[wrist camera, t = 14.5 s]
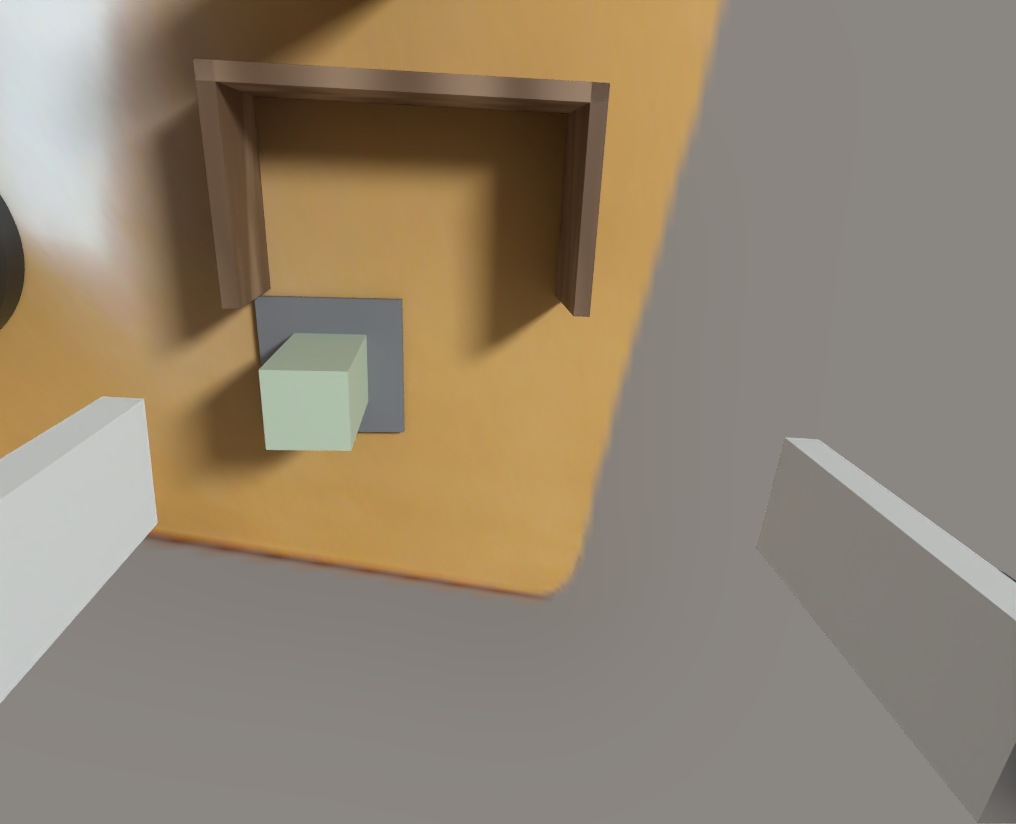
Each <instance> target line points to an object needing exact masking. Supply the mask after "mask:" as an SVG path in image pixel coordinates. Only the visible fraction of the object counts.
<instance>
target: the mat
mask: <svg viewBox="0 0 1016 824" xmlns="http://www.w3.org/2000/svg"><path fill="white" fill-rule="evenodd" d="M255 309H256V319H257V330H258V340H259V350H260V360H261V367H262V366H263V365H264V364H265V363H266V362H267V361H268V360H269V359H270V357H271V356H272V355H273V354H274V353H275V352H276V351H277V350H278V349H279V348H280V347H281V346H282V345H283V344H284V343H285V342H286V341H287V340H288V339H289V338H290V337H291V336H292V335H293V334H294V333H318V334H357V335H366V339H367V372H368V403H367V406H366V409H365V412H364V415H363V418H362V421H361V424H360V426H359V429H358V432H404V381H403V323H402V299H379V298H338V297H297V296H259V297H257V298H255Z"/></svg>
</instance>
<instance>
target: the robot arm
mask: <svg viewBox="0 0 1016 824" xmlns="http://www.w3.org/2000/svg"><path fill="white" fill-rule="evenodd" d="M24 271H25V268H24V254H23V248H22V243H21V239H20V235H19V232H18V229H17V226H16V224H15V222H14V219H13V217H12V215H11V213H10V211H9V209H8V207H7V205H6V203H5V202H4V200H3V198H2V197H1V195H0V329H1V328H2V327H3V326H4V325H5V323H6V322H7V321H8V320H9V318H10V317H11V315H12V314H13V312H14V310H15V308H16V306H17V304H18V302H19V299H20V296H21V292H22V288H23V282H24ZM156 525H157V514H156V505H155V495H154V486H153V477H152V468H151V459H150V449H149V440H148V431H147V422H146V413H145V403H144V399H136V398H119V397H103V396H102V397H101V398H99V399H97V400H96V401H94V402H93V403H91V404H89V405H88V406H86V407H84V408H83V409H81V410H79V411H78V412H76V413H75V414H73V415H71V416H70V417H68V418H66V419H65V420H63V421H61V422H60V423H58V424H57V425H55V426H53V427H52V428H50V429H48V430H47V431H45V432H43V433H42V434H40V435H39V436H37V437H35V438H34V439H32V440H30V441H29V442H27V443H25V444H24V445H22V446H21V447H19V448H17V449H16V450H14V451H12V452H11V453H9V454H7V455H6V456H4V457H3V458H1V459H0V703H1V702H2V701H3V700H4V699H5V697H6V696H7V695H8V694H9V693H10V692H11V690H12V689H13V688H14V687H15V686H16V685H17V684H18V682H19V681H20V680H21V679H22V678H23V677H24V676H25V674H26V673H27V672H28V671H29V670H30V669H31V667H32V666H33V665H34V664H35V663H36V662H37V661H38V660H39V658H40V657H41V656H42V655H43V654H44V653H45V652H46V650H47V649H48V648H49V647H50V646H51V645H52V643H53V642H54V641H55V640H56V639H57V638H58V637H59V635H60V634H61V633H62V632H63V631H64V630H65V629H66V628H67V626H68V625H69V624H70V623H71V622H72V621H73V619H74V618H75V617H76V616H77V615H78V614H79V613H80V611H81V610H82V609H83V608H84V607H85V606H86V605H87V604H88V602H89V601H90V600H91V599H92V598H93V597H94V595H95V594H96V593H97V592H98V591H99V590H100V589H101V587H102V586H103V585H104V584H105V583H106V582H107V581H108V579H109V578H110V577H111V576H112V575H113V574H114V572H115V571H116V570H117V569H118V568H119V567H120V566H121V565H122V563H123V562H124V561H125V560H126V559H127V558H128V557H129V555H130V554H131V553H132V552H133V551H134V550H135V549H136V547H137V546H138V545H139V544H140V543H141V542H142V541H143V539H144V538H145V537H146V536H147V535H148V534H149V533H150V531H151V530H152V529H153V528H154V527H155V526H156ZM756 548H757V550H758V551H759V552H760V554H761V555H762V556H763V557H764V559H765V560H766V561H767V562H768V563H769V565H770V566H771V567H772V568H773V570H774V571H775V572H776V573H777V575H778V576H779V577H780V578H781V580H782V581H783V582H784V583H785V585H786V586H787V587H788V588H789V590H790V591H791V592H792V593H793V595H794V596H795V597H796V598H797V599H798V601H799V602H800V603H801V604H802V606H803V607H804V608H805V610H806V611H807V612H808V613H809V614H810V616H811V617H812V618H813V619H814V621H815V622H816V623H817V624H818V626H819V627H820V628H821V629H822V630H823V632H824V633H825V634H826V636H827V637H828V638H829V639H830V641H831V642H832V643H833V644H834V645H835V647H836V648H837V649H838V651H839V652H840V653H841V654H842V655H843V657H844V658H845V659H846V660H847V661H848V663H849V664H850V665H851V667H852V668H853V669H854V670H855V672H856V673H857V674H858V675H859V677H860V678H861V679H862V680H863V682H864V683H865V684H866V685H867V687H868V688H869V689H870V690H871V691H872V693H873V694H874V695H875V696H876V698H877V699H878V700H879V701H880V703H881V704H882V705H883V706H884V708H885V709H886V710H887V711H888V712H889V714H890V715H891V716H892V718H893V719H894V720H895V721H896V723H897V724H898V725H899V726H900V728H901V729H902V730H903V731H904V733H905V734H906V735H907V736H908V737H909V739H910V740H911V741H912V742H913V744H914V745H915V746H916V747H917V749H918V750H919V751H920V752H921V754H922V755H923V756H924V757H925V759H926V760H927V761H928V762H929V764H930V765H931V766H932V767H933V769H934V770H935V771H936V772H937V774H938V775H939V776H940V777H941V779H942V780H943V781H944V782H945V783H946V785H947V786H948V787H949V788H950V790H951V791H952V792H953V793H954V795H955V796H956V797H957V798H958V800H959V801H960V802H961V803H962V805H963V806H964V807H965V808H966V810H967V811H968V812H969V813H970V815H972V817H973V818H974V820H975V821H976V822H977V823H1016V581H1015V580H1014V579H1013V578H1011V577H1010V576H1008V575H1007V574H1005V573H1004V572H1002V571H1000V570H998V569H996V568H995V567H993V566H992V565H991V564H989V563H988V562H987V561H985V560H984V559H983V558H981V557H980V556H978V555H977V554H976V553H974V552H973V551H972V550H970V549H969V548H967V547H966V546H965V545H963V544H962V543H960V542H959V541H957V540H956V539H955V538H954V537H952V536H951V535H949V534H948V533H947V532H945V531H944V530H943V529H941V528H940V527H938V526H937V525H936V524H934V523H933V522H932V521H930V520H929V519H927V518H926V517H925V516H923V515H922V514H921V513H919V512H918V511H916V510H915V509H914V508H912V507H911V506H909V505H908V504H907V503H905V502H904V501H903V500H901V499H900V498H898V497H897V496H896V495H894V494H893V493H891V492H890V491H889V490H887V489H886V488H885V487H883V486H882V485H880V484H879V483H878V482H876V481H875V480H873V479H872V478H871V477H869V476H868V475H867V474H865V473H864V472H862V471H861V470H860V469H858V468H857V467H856V466H854V465H853V464H852V463H850V462H849V461H847V460H846V459H845V458H843V457H842V456H841V455H839V454H838V453H836V452H835V451H834V450H832V449H831V448H829V447H828V446H827V445H825V444H824V443H823V442H821V441H820V440H818V439H802V438H785V439H784V443H783V447H782V451H781V455H780V458H779V462H778V466H777V470H776V474H775V478H774V481H773V485H772V489H771V494H770V497H769V501H768V505H767V508H766V512H765V516H764V520H763V524H762V528H761V532H760V535H759V539H758V543H757V547H756Z"/></svg>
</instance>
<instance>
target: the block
mask: <svg viewBox="0 0 1016 824" xmlns="http://www.w3.org/2000/svg"><path fill="white" fill-rule="evenodd" d="M259 380H260V391H261V401H262V412H263V423H264V434H265V445H266V450H339V451H351V449H352V447H353V444H354V441H355V438H356V435H357V432H358V429H359V426H360V424H361V421H362V418H363V415H364V412H365V409H366V406H367V403H368V372H367V339H366V335H357V334H318V333H294V334H293V335H292V336H291V337H290V338H289V339H288V340H287V341H286V342H285V343H284V344H283V345H282V346H281V347H280V348H279V349H278V350H277V351H276V352H275V353H274V354H273V355H272V356H271V357H270V359H269V360H268V361H267V362H266V363H265V364H264V365H263V366H262V367H261V368H260V369H259Z"/></svg>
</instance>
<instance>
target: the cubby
mask: <svg viewBox="0 0 1016 824" xmlns="http://www.w3.org/2000/svg"><path fill="white" fill-rule="evenodd" d="M193 65H194V73H195V82H196V91H197V99H198V108H199V116H200V125H201V133H202V142H203V150H204V159H205V167H206V176H207V184H208V193H209V202H210V210H211V219H212V227H213V236H214V244H215V253H216V261H217V270H218V278H219V287H220V295H221V304H222V308H226V309H240V308H242V307H243V306H245V305H246V304H248V303H249V302H251V301H252V300H254V299H255V298H257V297H259V296H260V295H262V294H263V293H265V292H266V291H268V290H269V289H271V288H270V277H269V266H268V255H267V243H266V232H265V221H264V210H263V199H262V187H261V176H260V165H259V154H258V143H257V131H256V120H255V109H254V98H253V96H256V97H275V98H293V99H312V100H330V101H349V102H367V103H386V104H404V105H423V106H441V107H460V108H478V109H497V110H515V111H534V112H552V113H568V122H567V137H566V151H565V166H564V181H563V196H562V211H561V226H560V240H559V255H558V270H557V285H556V297H557V298H558V299H559V300H560V301H561V302H562V304H563V305H564V306H565V307H566V308H567V309H568V310H569V312H570V313H571V314H572V315H573V316H583V317H590V306H591V294H592V283H593V271H594V260H595V248H596V237H597V225H598V214H599V202H600V191H601V179H602V168H603V156H604V145H605V133H606V122H607V110H608V99H609V87H610V83H599V82H582V81H565V80H548V79H531V78H514V77H497V76H481V75H464V74H447V73H430V72H413V71H396V70H379V69H362V68H345V67H329V66H312V65H295V64H278V63H261V62H244V61H227V60H210V59H193Z"/></svg>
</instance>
